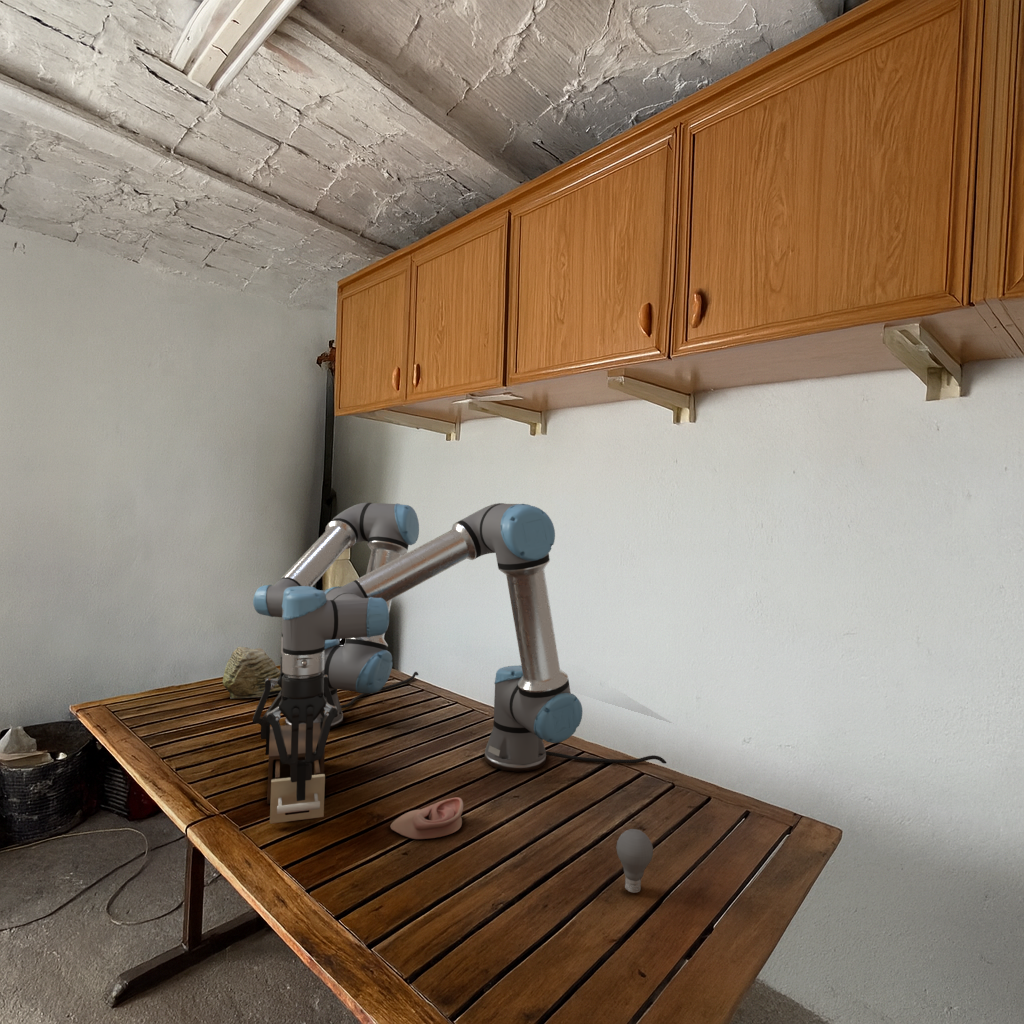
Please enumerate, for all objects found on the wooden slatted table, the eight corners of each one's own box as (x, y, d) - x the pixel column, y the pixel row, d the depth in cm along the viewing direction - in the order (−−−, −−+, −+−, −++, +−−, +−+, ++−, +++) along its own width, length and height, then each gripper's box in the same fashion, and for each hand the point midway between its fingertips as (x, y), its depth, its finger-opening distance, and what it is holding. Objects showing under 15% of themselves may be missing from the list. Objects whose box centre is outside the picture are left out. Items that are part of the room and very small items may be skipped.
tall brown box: (323, 797, 133) (324, 751, 133) (267, 803, 129) (268, 756, 129) (318, 763, 150) (319, 722, 150) (268, 768, 146) (270, 726, 146)
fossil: (218, 695, 195) (220, 647, 195) (278, 685, 208) (279, 640, 207) (228, 703, 189) (230, 653, 188) (289, 692, 201) (290, 645, 201)
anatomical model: (384, 813, 120) (406, 787, 131) (383, 834, 120) (405, 806, 131) (452, 824, 117) (468, 796, 128) (451, 845, 117) (467, 815, 128)
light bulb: (610, 879, 108) (613, 822, 108) (644, 879, 109) (647, 822, 109) (619, 902, 102) (622, 840, 102) (655, 901, 103) (658, 840, 103)
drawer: (325, 830, 118) (327, 787, 118) (269, 837, 115) (271, 794, 115) (318, 780, 139) (319, 744, 139) (270, 785, 135) (272, 748, 135)
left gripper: (241, 661, 137) (238, 761, 138) (352, 656, 145) (348, 751, 146) (243, 653, 144) (240, 748, 145) (349, 648, 152) (345, 739, 153)
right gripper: (265, 681, 113) (263, 811, 114) (341, 676, 117) (338, 801, 118) (266, 670, 120) (264, 792, 121) (337, 665, 124) (334, 784, 125)
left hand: (294, 750), depth 145 cm, fingers closed on tall brown box, 11 cm apart
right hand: (300, 797), depth 119 cm, fingers closed
